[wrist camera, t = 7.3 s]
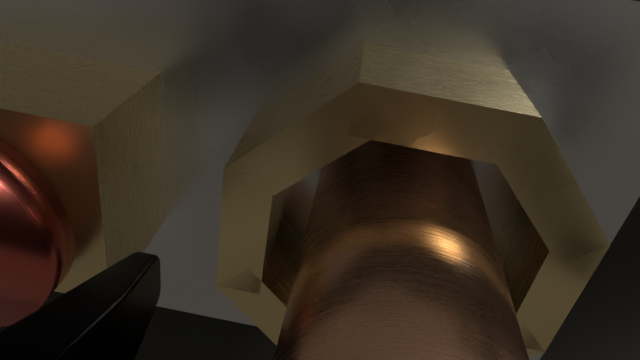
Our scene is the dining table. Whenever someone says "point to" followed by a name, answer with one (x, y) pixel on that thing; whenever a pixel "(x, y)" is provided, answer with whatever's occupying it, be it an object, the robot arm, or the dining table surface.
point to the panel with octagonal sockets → (305, 137)
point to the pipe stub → (399, 265)
